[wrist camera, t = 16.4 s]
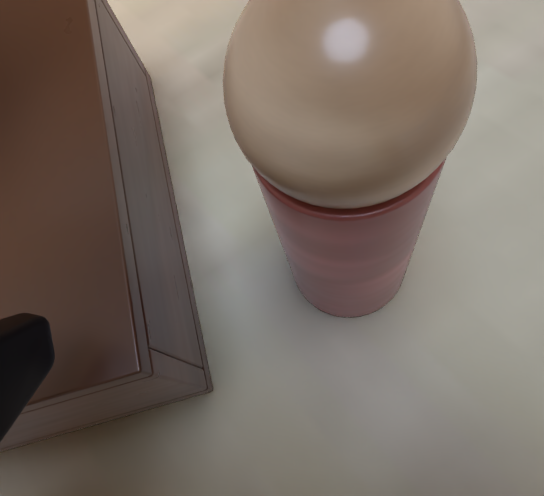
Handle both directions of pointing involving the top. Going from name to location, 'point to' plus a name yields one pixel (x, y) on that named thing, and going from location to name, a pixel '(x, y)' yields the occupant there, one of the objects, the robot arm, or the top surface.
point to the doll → (349, 131)
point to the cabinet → (90, 221)
